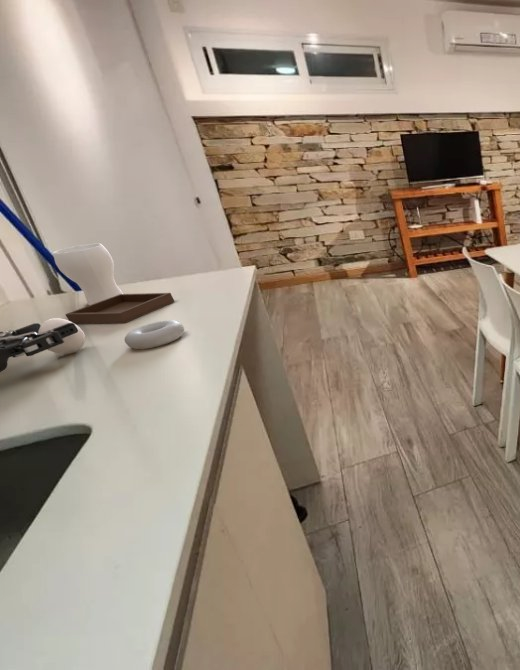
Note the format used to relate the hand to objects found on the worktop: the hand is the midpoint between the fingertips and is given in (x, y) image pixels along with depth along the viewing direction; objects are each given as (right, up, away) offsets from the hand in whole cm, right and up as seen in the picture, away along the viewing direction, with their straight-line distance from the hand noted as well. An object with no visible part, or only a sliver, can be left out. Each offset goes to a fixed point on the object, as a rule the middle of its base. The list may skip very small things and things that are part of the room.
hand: (57, 327), depth 99 cm
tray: (-9, +4, +23) cm, 26 cm away
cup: (-24, +8, +34) cm, 42 cm away
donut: (+17, -3, +5) cm, 18 cm away
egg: (0, -6, +3) cm, 6 cm away
